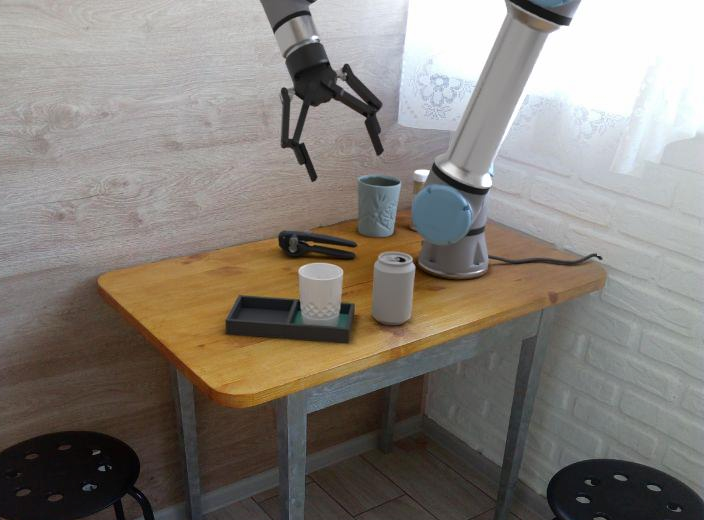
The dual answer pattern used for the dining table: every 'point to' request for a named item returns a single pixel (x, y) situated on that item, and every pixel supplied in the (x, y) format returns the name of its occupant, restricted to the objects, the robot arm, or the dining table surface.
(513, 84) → the robot arm
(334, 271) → the white cup
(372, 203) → the embossed blue cup
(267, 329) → the divided tray
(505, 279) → the dining table surface
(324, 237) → the can opener
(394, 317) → the can
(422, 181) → the sprinkles bottle
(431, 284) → the dining table surface
